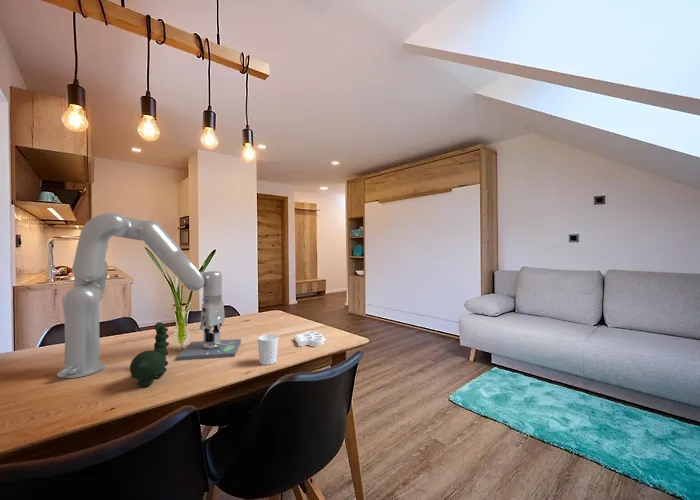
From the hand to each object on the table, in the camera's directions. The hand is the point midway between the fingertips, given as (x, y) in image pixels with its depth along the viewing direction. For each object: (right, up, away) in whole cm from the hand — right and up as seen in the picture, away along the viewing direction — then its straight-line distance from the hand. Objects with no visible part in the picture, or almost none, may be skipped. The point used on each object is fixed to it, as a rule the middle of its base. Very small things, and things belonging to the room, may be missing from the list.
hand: (212, 339), depth 134 cm
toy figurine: (-8, -5, -28) cm, 30 cm away
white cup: (+28, -5, -13) cm, 32 cm away
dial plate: (0, -5, 0) cm, 5 cm away
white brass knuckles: (+42, -6, +14) cm, 45 cm away
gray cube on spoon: (+3, -3, -1) cm, 4 cm away
